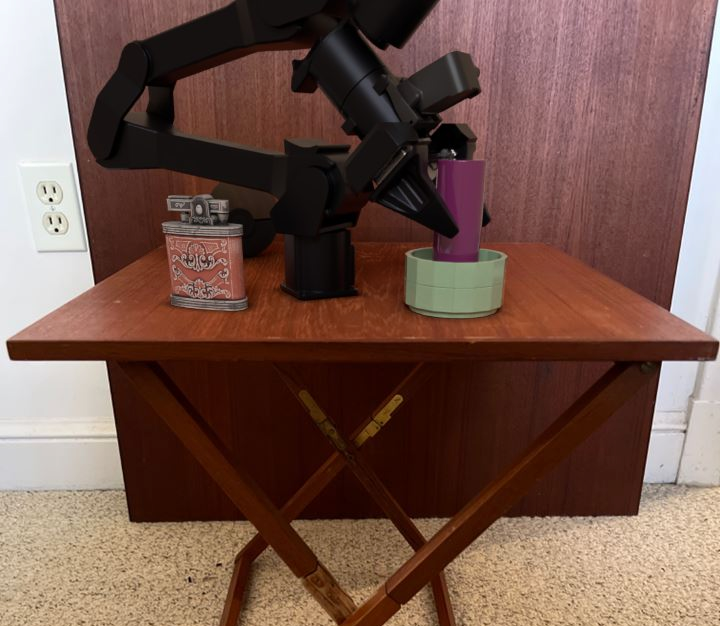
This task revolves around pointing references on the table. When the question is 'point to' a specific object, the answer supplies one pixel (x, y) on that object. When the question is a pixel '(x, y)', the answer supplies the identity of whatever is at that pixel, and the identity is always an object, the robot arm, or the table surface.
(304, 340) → the table surface
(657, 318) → the table surface
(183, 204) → the lighter
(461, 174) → the purple cylinder rod
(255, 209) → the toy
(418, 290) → the bowl
